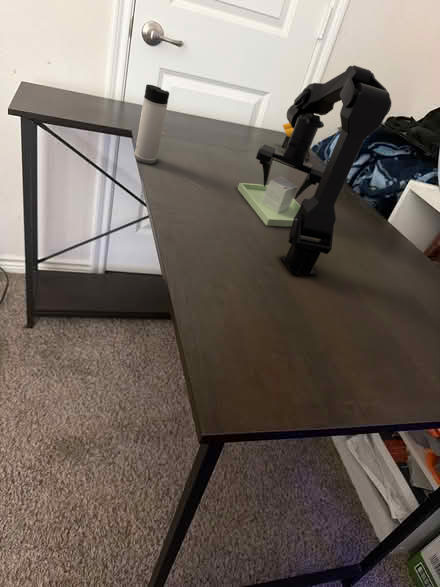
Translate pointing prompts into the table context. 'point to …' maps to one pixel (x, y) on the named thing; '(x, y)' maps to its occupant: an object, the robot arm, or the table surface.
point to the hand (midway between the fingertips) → (279, 192)
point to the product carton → (279, 194)
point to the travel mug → (151, 124)
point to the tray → (268, 216)
